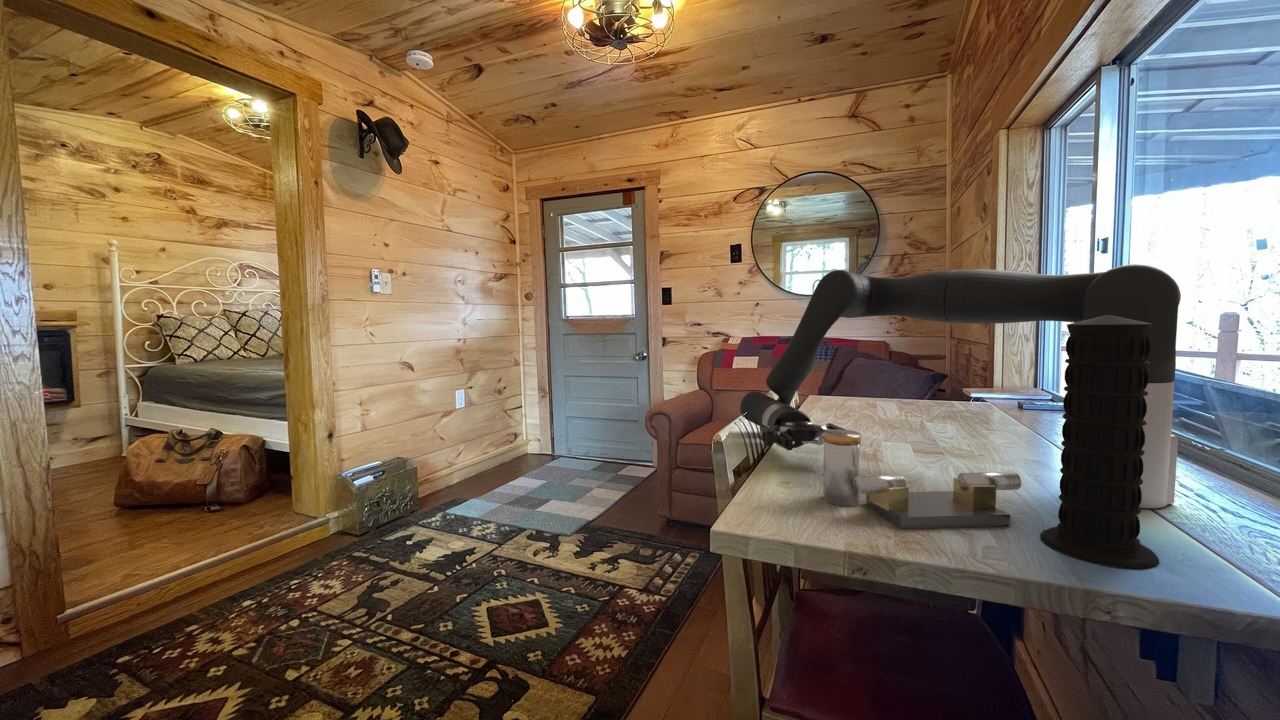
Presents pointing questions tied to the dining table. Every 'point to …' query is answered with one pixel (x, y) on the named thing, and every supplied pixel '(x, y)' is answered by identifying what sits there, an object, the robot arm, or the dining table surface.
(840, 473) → the grey cylinder
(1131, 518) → the handle grip
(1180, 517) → the dining table surface
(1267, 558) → the dining table surface
